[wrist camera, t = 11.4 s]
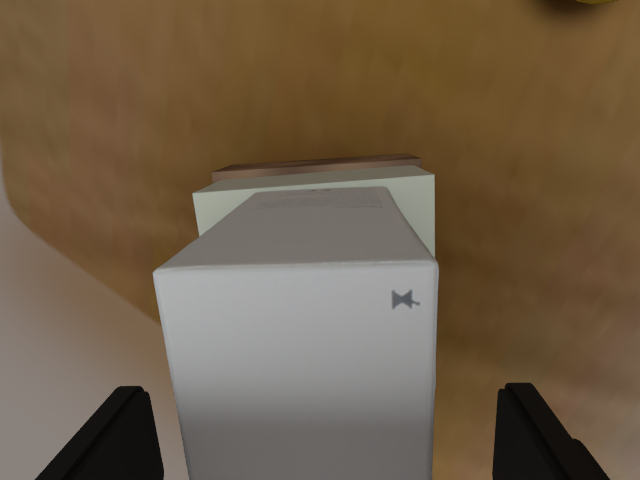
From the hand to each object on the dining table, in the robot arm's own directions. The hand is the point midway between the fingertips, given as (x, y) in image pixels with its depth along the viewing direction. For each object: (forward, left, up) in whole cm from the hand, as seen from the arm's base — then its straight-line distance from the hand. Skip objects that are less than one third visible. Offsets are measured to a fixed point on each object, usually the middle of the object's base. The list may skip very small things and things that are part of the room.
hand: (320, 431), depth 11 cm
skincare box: (0, 0, -10) cm, 9 cm away
